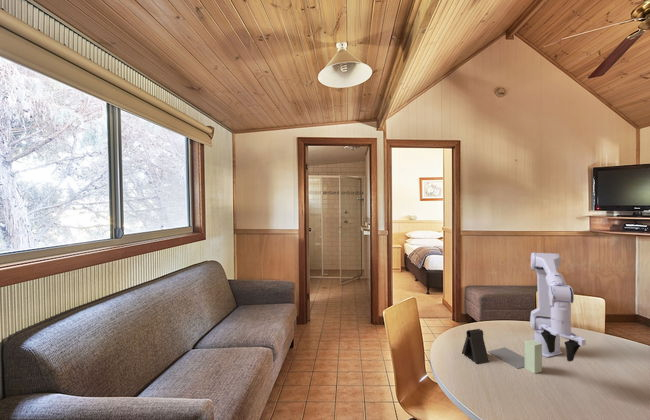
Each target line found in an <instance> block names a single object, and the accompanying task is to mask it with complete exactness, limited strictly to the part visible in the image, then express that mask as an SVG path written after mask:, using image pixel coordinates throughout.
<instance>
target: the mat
mask: <svg viewBox="0 0 650 420" xmlns="http://www.w3.org/2000/svg"><path fill="white" fill-rule="evenodd" d="M487 353H489V354H491V355H492V356H493V357H497V358H498V359H500V360H502V361H503V362H505V363H507V364H509V365H510V366H512V367H514V368H515V369H523V368H525V356H523V355H521V354H519V353H517V352H515V351H513V350H511V349H509V348H507V347H505V346H504V347H501V348H497V349H492V350H488V351H487Z"/></svg>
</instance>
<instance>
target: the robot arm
mask: <svg viewBox="0 0 650 420" xmlns="http://www.w3.org/2000/svg"><path fill="white" fill-rule="evenodd" d="M561 259H562V258H561V255H560V254H559V253H557V252H556V253H553V252H552V253H550V252H548V253H547V252H531V254H530V269H531V270H532V271H535V273H536V278H537V280H536V284H537V287H536V288H537V308H535V309H533V310H531V312H530V317H529V318H530V319H529V324H530V328H531V329H532V330H534V331H533V334H534V339H533V340H535V341H537V342H539V343H541V344H542V356H543V357H546V358H551V357H554V356H557V355H562V354H563V351H561V338H563V339H566V340H567V341H564V345H565V349H566V360H567V362H568V363H569V362H573V361H574V359H575V357H576V356H575V355H576V354H577V351H578V350H579V349H580V347H583V346H586V342H587V340H586V339H585V338H582V337H581V336H579V335H577V334H575V333H573V332H572V304H573V303H574V301H575V299H574V298H575V294H574V290H573V288H572V286H570V285H568V284H567V282H566V280H565V277H564V276H563V274H561V272H559V268H560V267H561V266H562V260H561Z"/></svg>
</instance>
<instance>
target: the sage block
mask: <svg viewBox="0 0 650 420" xmlns="http://www.w3.org/2000/svg"><path fill="white" fill-rule="evenodd" d="M524 357H525V367H524V369H525V370H527V371H529V372H531V373H533V374H537V373H542V372H543V355H542V344H541V343H539V342H537V341H535V340H534V339H527V340H524Z"/></svg>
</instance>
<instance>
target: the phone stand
mask: <svg viewBox="0 0 650 420" xmlns="http://www.w3.org/2000/svg"><path fill="white" fill-rule="evenodd" d="M461 354H462V355H463V354H464V355H463V356H465V357H466V358H467V357H468V358H467V359H469V360H470V359H471V360H470V361H472V363H474V362H475V363H474V364H475V365H477V364H483V363H489V362H490V361H489V355H488V351H487V347H486V343H485V340H484V331H483V330H482V329H481V328H475V329H468V330H466V336H465V341H464V345H463V347H462V350H461Z"/></svg>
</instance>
